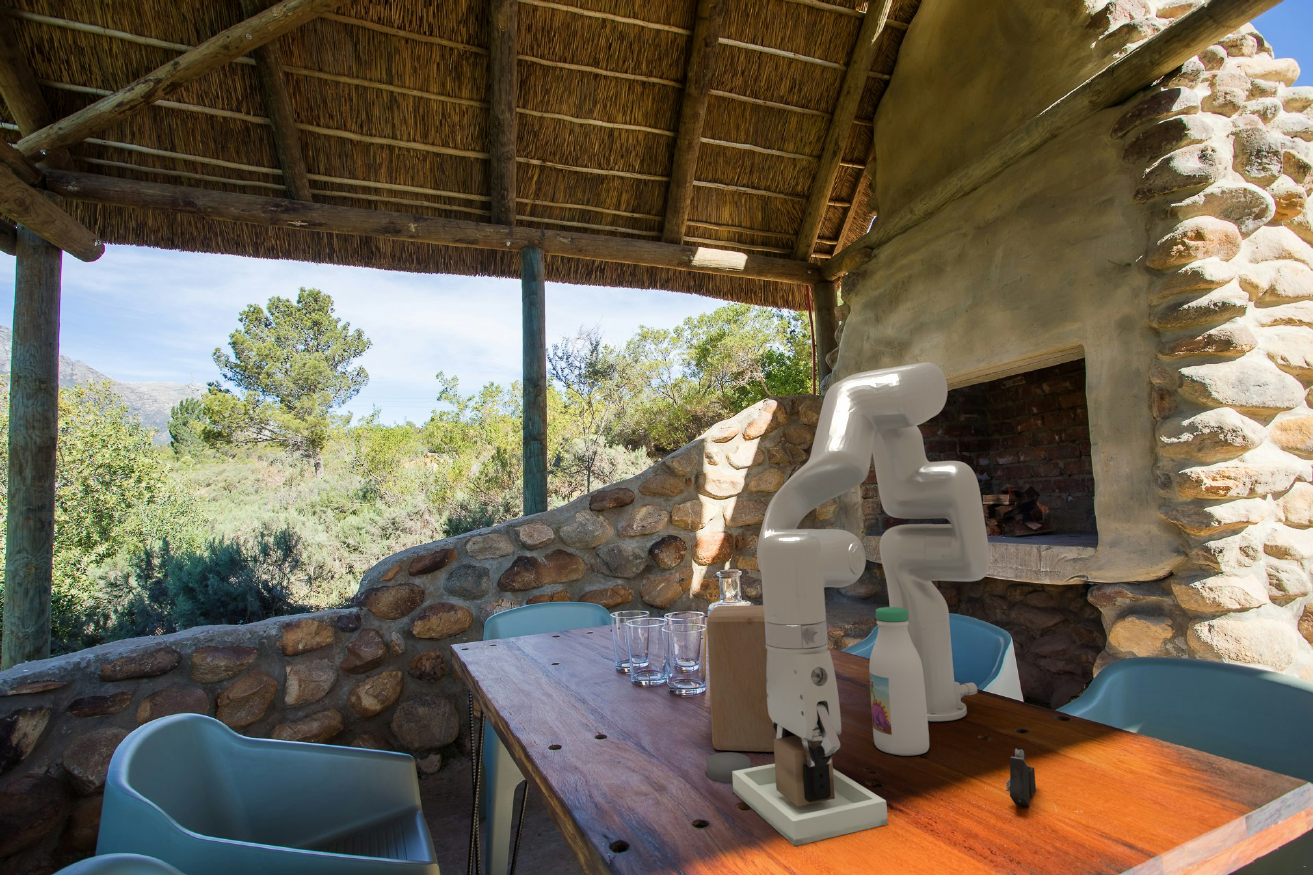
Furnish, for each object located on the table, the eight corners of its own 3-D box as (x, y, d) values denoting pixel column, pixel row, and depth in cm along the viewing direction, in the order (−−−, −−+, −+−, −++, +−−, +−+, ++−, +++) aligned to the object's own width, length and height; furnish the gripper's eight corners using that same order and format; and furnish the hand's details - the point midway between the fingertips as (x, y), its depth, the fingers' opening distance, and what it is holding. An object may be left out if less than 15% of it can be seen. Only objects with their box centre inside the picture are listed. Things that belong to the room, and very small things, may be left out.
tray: (814, 775, 90) (813, 756, 90) (887, 824, 75) (886, 800, 76) (733, 791, 86) (732, 771, 86) (794, 845, 71) (793, 821, 72)
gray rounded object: (739, 764, 95) (738, 749, 95) (759, 780, 90) (758, 764, 90) (700, 771, 93) (699, 756, 93) (717, 787, 88) (717, 771, 88)
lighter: (1015, 812, 82) (1015, 763, 85) (1036, 816, 81) (1035, 767, 84) (1002, 794, 77) (1003, 743, 80) (1024, 798, 76) (1024, 746, 79)
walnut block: (811, 782, 84) (808, 732, 84) (834, 798, 79) (831, 745, 80) (776, 789, 82) (773, 739, 83) (797, 806, 78) (794, 752, 78)
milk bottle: (928, 740, 101) (917, 604, 103) (931, 759, 94) (920, 613, 96) (874, 736, 103) (865, 604, 105) (873, 754, 96) (863, 612, 98)
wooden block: (780, 754, 98) (772, 614, 100) (711, 752, 100) (705, 614, 102) (781, 731, 107) (774, 604, 109) (719, 729, 109) (713, 604, 111)
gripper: (863, 644, 76) (875, 813, 74) (787, 621, 92) (795, 760, 90) (806, 651, 73) (817, 826, 72) (737, 627, 89) (745, 770, 87)
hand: (804, 788), depth 81 cm, fingers closed on walnut block, 4 cm apart
